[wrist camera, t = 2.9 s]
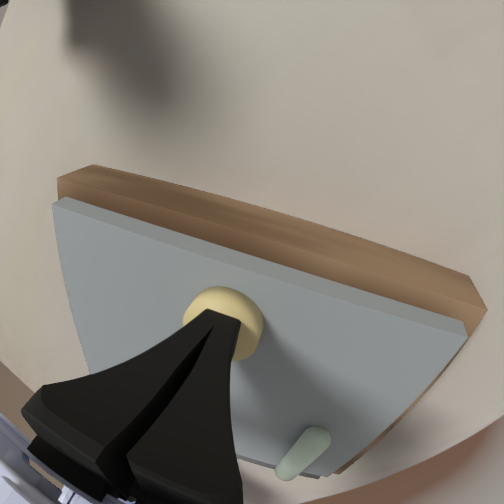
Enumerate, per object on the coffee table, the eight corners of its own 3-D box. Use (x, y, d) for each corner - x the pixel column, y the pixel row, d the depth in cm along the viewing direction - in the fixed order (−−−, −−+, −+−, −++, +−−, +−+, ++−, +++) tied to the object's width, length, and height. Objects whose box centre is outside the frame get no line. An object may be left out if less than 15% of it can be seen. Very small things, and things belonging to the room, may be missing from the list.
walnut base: (343, 445, 22) (339, 474, 19) (110, 361, 25) (93, 383, 23) (469, 276, 13) (487, 310, 11) (92, 164, 16) (57, 177, 14)
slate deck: (324, 470, 19) (318, 497, 17) (105, 388, 22) (89, 410, 20) (462, 321, 10) (476, 366, 8) (65, 196, 13) (27, 217, 11)
